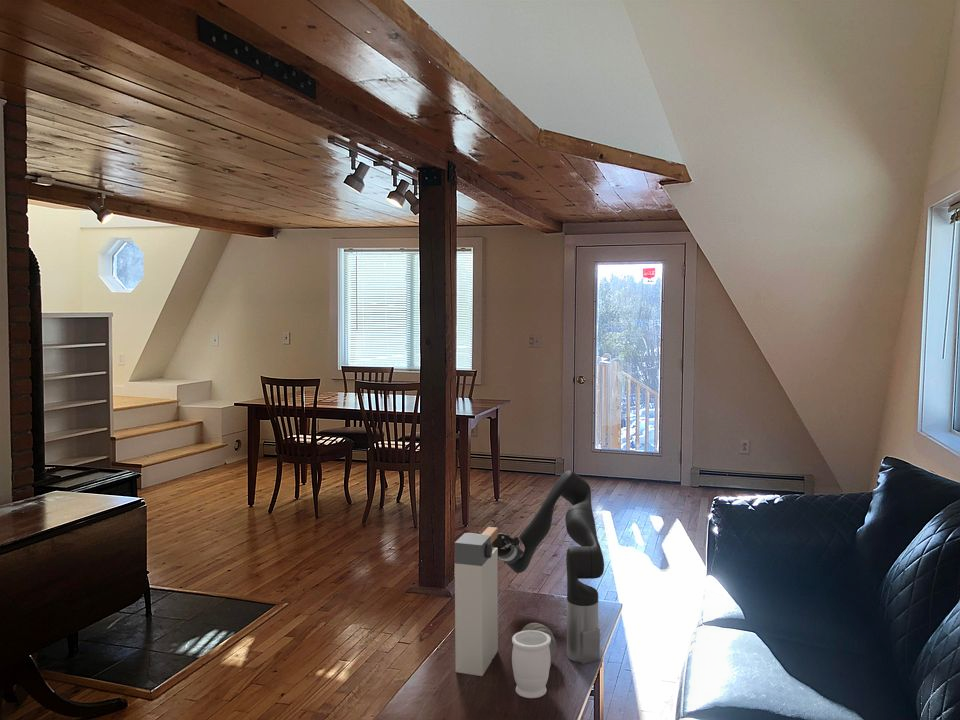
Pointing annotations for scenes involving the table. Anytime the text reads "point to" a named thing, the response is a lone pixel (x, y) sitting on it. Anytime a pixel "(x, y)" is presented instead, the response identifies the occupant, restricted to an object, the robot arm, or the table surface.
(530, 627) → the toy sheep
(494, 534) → the tan piece
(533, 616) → the table surface
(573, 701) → the table surface
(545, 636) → the jar
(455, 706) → the table surface
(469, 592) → the pedestal
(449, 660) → the table surface
